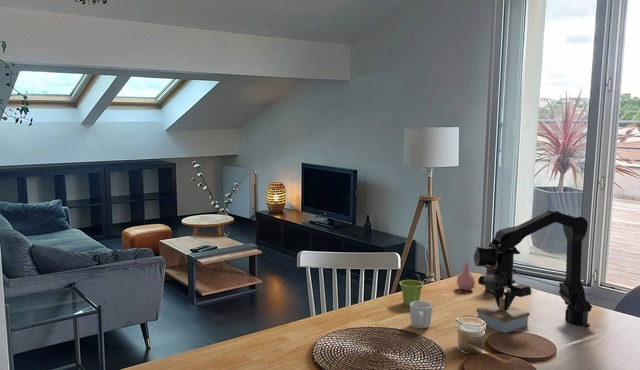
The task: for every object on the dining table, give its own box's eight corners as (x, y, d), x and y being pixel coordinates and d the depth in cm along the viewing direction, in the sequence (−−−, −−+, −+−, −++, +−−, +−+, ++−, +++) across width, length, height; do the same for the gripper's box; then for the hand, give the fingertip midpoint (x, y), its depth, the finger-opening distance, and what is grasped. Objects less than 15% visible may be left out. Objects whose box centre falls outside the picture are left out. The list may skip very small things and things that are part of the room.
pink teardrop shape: (457, 286, 236) (458, 260, 235) (475, 288, 233) (475, 261, 232) (455, 291, 229) (456, 264, 227) (474, 293, 226) (475, 265, 225)
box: (527, 328, 187) (528, 315, 186) (504, 334, 181) (505, 322, 180) (499, 317, 197) (500, 306, 196) (477, 323, 191) (477, 311, 190)
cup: (432, 334, 181) (432, 311, 180) (408, 332, 183) (409, 309, 182) (431, 322, 192) (432, 301, 191) (409, 321, 193) (410, 300, 192)
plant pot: (394, 302, 214) (395, 281, 213) (414, 299, 218) (414, 278, 217) (407, 309, 206) (408, 287, 205) (427, 305, 210) (428, 284, 209)
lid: (529, 315, 186) (530, 300, 186) (505, 322, 180) (506, 306, 179) (500, 305, 197) (500, 290, 196) (476, 311, 190) (477, 296, 190)
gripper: (468, 263, 190) (467, 305, 192) (511, 275, 174) (509, 321, 176) (489, 259, 196) (488, 300, 198) (533, 270, 180) (531, 315, 182)
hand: (502, 308), depth 188 cm, fingers closed on lid, 3 cm apart
